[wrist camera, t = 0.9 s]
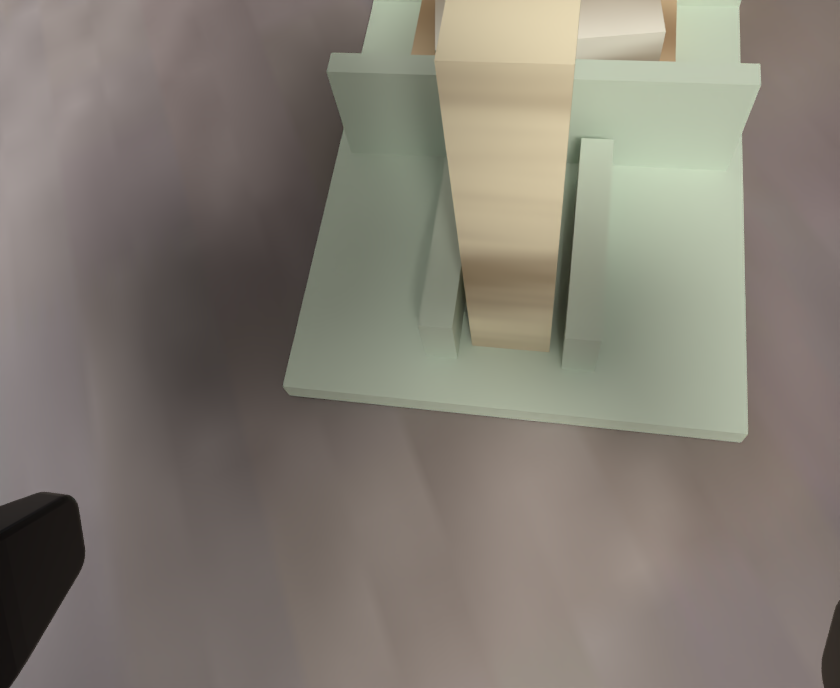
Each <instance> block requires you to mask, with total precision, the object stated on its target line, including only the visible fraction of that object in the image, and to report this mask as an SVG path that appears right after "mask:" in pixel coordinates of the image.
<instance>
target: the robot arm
mask: <svg viewBox="0 0 840 688" xmlns="http://www.w3.org/2000/svg"><path fill="white" fill-rule="evenodd" d="M84 559H85V545H84V539H83V532H82V526H81V520H80V514H79V507H78V504H77V502H76V500H75V499H74V498H73V497H72V496H70V495H65V494H58V493H50V492H39V493H36V494H33V495H30V496H27V497H25V498H22V499H19V500H16V501H13V502H10V503H7V504H5V505H2V506H0V688H10V686H11V685H12V683H13V682H14V681H15V679H16V678H17V676H18V675H19V673H20V671H21V670H22V668H23V667H24V665H25V664H26V662H27V660H28V659H29V657H30V655H31V654H32V652H33V650H34V649H35V647H36V645H37V644H38V642H39V640H40V639H41V637H42V635H43V633H44V632H45V630H46V628H47V627H48V625H49V623H50V622H51V620H52V618H53V617H54V615H55V613H56V611H57V610H58V608H59V606H60V605H61V603H62V601H63V600H64V598H65V596H66V595H67V593H68V591H69V589H70V588H71V586H72V584H73V583H74V581H75V579H76V578H77V576H78V574H79V573H80V570H81V568H82V566H83V563H84ZM822 680H823V685H824V688H840V600H839V602H838V604H837V605H836V608H835V611H834V614H833V618H832V622H831V626H830V630H829V633H828V637H827V641H826V645H825V648H824V652H823V657H822Z"/></svg>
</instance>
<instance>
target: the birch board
mask: <svg viewBox="0 0 840 688" xmlns="http://www.w3.org/2000/svg"><path fill="white" fill-rule="evenodd" d="M580 5H581V0H445V5H444V11H443V16H442V22H441V27H440V32H439V38H438V43H437V48H436V54H435V59H434V63H435V70H436V78H437V85H438V93H439V100H440V108H441V115H442V123H443V130H444V138H445V145H446V153H447V160H448V168H449V175H450V183H451V190H452V198H453V205H454V213H455V220H456V228H457V235H458V243H459V250H460V258H461V265H462V273H463V280H464V288H465V295H466V303H467V310H468V318H469V325H470V333H471V340H472V345H473V346H484V347H495V348H506V349H517V350H528V351H540V352H549V350H550V339H551V328H552V317H553V306H554V295H555V284H556V273H557V262H558V251H559V239H560V228H561V217H562V206H563V195H564V184H565V173H566V162H567V151H568V139H569V128H570V117H571V106H572V95H573V83H574V72H575V61H576V50H577V39H578V27H579V16H580Z"/></svg>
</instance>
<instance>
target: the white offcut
mask: <svg viewBox="0 0 840 688" xmlns="http://www.w3.org/2000/svg"><path fill="white" fill-rule="evenodd" d="M444 5H445V0H435V54H436V48H437V43H438V38H439V32H440V27H441V22H442V16H443V11H444ZM665 33H666V30H665V24H664V18H663V11H662V5H661V0H581V5H580V16H579V27H578V39H577V50H576V59H593V60H632V61H659V60H660V56H661V51H662V47H663V42H664V38H665Z"/></svg>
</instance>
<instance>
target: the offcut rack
mask: <svg viewBox="0 0 840 688" xmlns="http://www.w3.org/2000/svg"><path fill="white" fill-rule="evenodd" d="M373 1H374V2H373V7H372V11H371V15H370V19H369V23H368V28H367V32H366V36H365V40H364V45H363V49H362V53H331V56H330V60H329V64H328V68H327V75H328V78H329V82H330V85H331V88H332V91H333V95H334V98H335V101H336V104H337V108H338V111H339V114H340V117H341V121H342V124H343V127H344V129H343V133H342V138H341V142H340V146H339V150H338V154H337V159H336V163H335V167H334V171H333V176H332V180H331V184H330V188H329V192H328V197H327V201H326V205H325V209H324V214H323V218H322V222H321V226H320V231H319V235H318V239H317V243H316V247H315V252H314V256H313V260H312V264H311V269H310V273H309V277H308V281H307V285H306V290H305V294H304V298H303V302H302V307H301V311H300V315H299V319H298V323H297V328H296V332H295V336H294V340H293V345H292V349H291V353H290V357H289V362H288V366H287V370H286V374H285V378H284V383H283V388H284V389H285V390H286V392H287V393H288V394H289V395H291V396H300V397H310V398H319V399H329V400H338V401H348V402H358V403H367V404H377V405H386V406H396V407H405V408H415V409H425V410H434V411H444V412H453V413H463V414H472V415H482V416H491V417H501V418H511V419H520V420H530V421H539V422H549V423H558V424H568V425H577V426H587V427H597V428H606V429H616V430H625V431H635V432H644V433H654V434H664V435H673V436H683V437H692V438H702V439H711V440H721V441H730V442H740V443H741V442H742V441H743V440H744V438H745V437H746V436H747V435H748V404H747V356H746V308H745V261H744V213H743V165H742V132H743V129H744V127H745V124H746V121H747V119H748V116H749V114H750V111H751V109H752V106H753V104H754V101H755V99H756V96H757V94H758V91H759V89H760V86H761V72H760V64H746V63H740V22H739V6H740V3H741V0H677V20H676V62H670V61H632V60H593V59H576V61H575V72H574V83H573V95H572V106H571V117H570V128H569V139H568V151H567V162H566V173H565V184H564V195H563V206H562V217H561V228H560V239H559V251H558V262H557V273H556V284H555V295H554V306H553V317H552V328H551V339H550V350H549V352H540V351H528V350H517V349H506V348H495V347H484V346H473V345H472V340H471V333H470V325H469V318H468V310H467V303H466V295H465V288H464V280H463V273H462V265H461V258H460V250H459V243H458V235H457V228H456V220H455V213H454V205H453V198H452V190H451V183H450V175H449V168H448V160H447V153H446V145H445V138H444V130H443V123H442V115H441V108H440V100H439V93H438V85H437V78H436V70H435V63H434V59H435V55H411V52H412V47H413V42H414V37H415V32H416V27H417V22H418V17H419V12H420V7H421V2H422V0H373Z"/></svg>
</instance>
